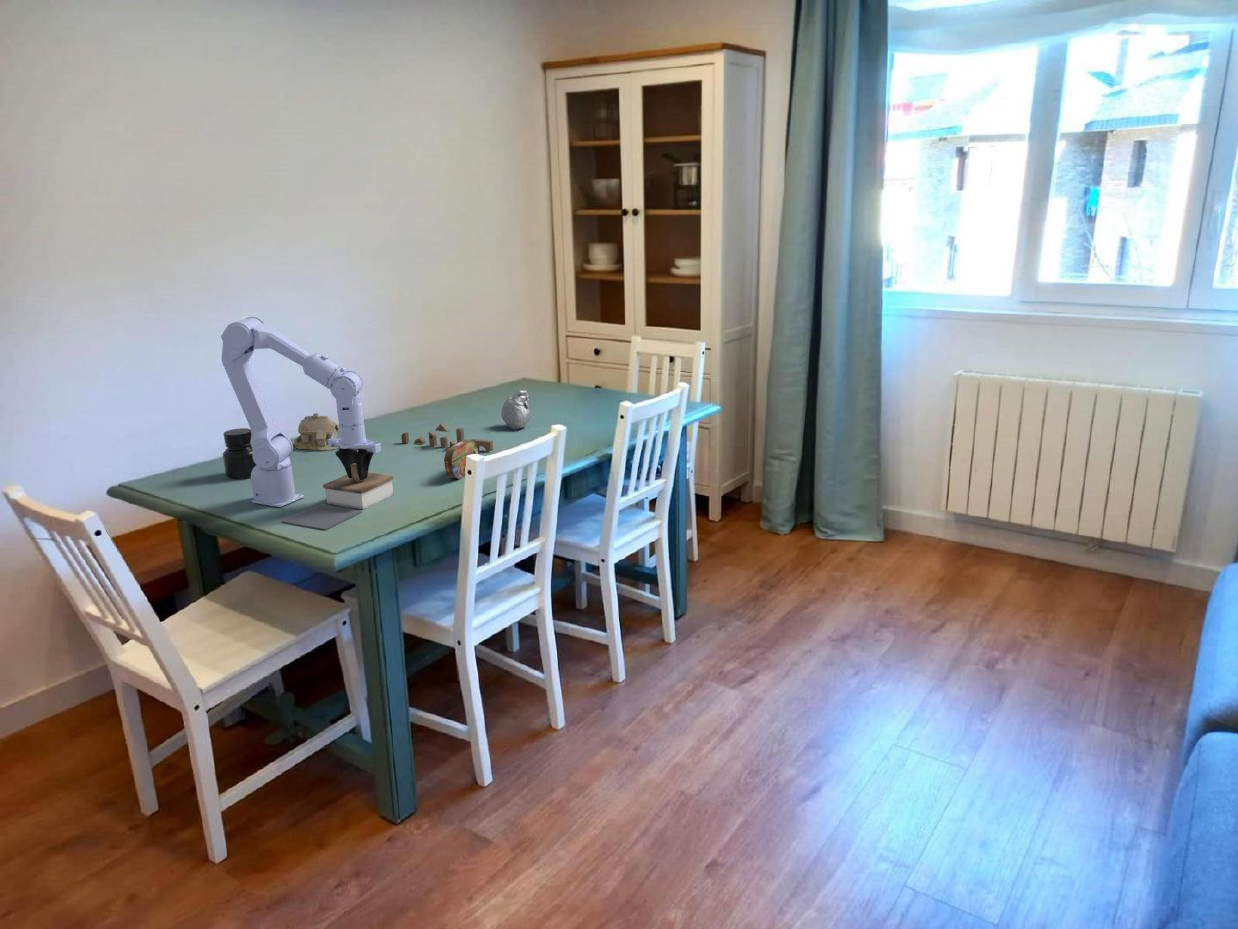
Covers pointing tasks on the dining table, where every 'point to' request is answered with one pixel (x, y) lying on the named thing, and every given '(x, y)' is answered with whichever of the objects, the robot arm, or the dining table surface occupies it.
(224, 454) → the ink bottle
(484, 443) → the wooden blocks
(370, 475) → the lid
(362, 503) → the box
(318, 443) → the ceramic model
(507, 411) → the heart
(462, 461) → the tin
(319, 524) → the mat
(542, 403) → the dining table surface
